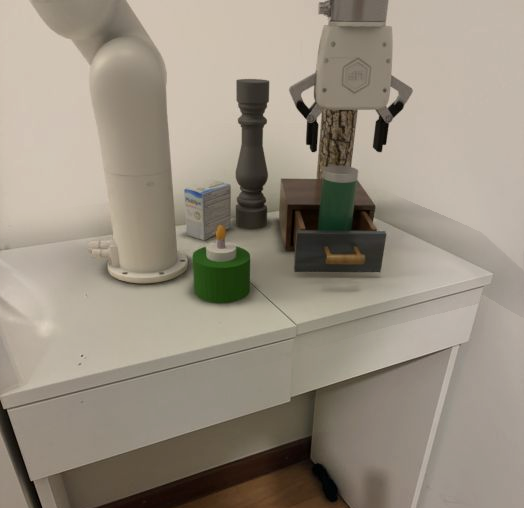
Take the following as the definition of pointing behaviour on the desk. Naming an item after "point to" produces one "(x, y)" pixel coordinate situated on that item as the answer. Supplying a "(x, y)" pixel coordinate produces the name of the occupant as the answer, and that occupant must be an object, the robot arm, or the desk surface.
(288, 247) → the cabinet
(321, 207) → the can
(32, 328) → the desk surface
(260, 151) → the candle holder
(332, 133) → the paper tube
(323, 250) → the drawer
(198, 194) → the medicine box
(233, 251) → the candle
